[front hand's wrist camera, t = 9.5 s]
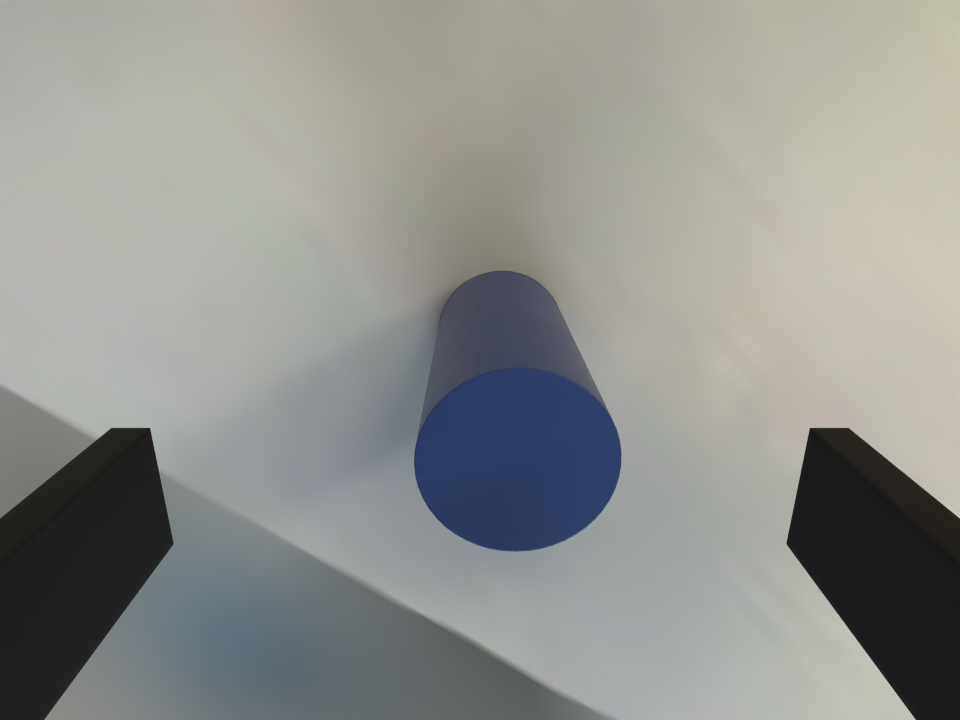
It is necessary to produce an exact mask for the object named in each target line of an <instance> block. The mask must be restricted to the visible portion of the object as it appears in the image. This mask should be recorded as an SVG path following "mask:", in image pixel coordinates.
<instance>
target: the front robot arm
mask: <svg viewBox="0 0 960 720" xmlns="http://www.w3.org/2000/svg"><path fill="white" fill-rule="evenodd" d="M172 545H173V539H172V534H171V529H170V524H169V519H168V514H167V509H166V504H165V499H164V495H163V490H162V485H161V480H160V475H159V470H158V465H157V460H156V455H155V450H154V445H153V441H152V436H151V431H150V428H111V429H110V430H108V431H107V432H106V433H105V434H104V435H102V436H101V437H100V438H99V439H97V440H96V441H95V442H94V443H93V444H91V445H90V446H89V447H88V448H86V449H85V450H84V451H83V452H81V453H80V454H79V455H78V456H77V457H75V458H74V459H73V460H72V461H70V462H69V463H68V464H67V465H65V466H64V467H63V468H62V469H61V470H59V471H58V472H57V473H56V474H55V475H53V476H52V477H51V478H50V479H48V480H47V481H46V482H45V483H43V484H42V485H41V486H40V487H38V488H37V489H36V490H35V491H34V492H32V493H31V494H30V495H29V496H27V497H26V498H25V499H24V500H23V501H21V502H20V503H19V504H18V505H16V506H15V507H14V508H13V509H11V510H10V511H9V512H8V513H7V514H5V515H4V516H3V517H2V518H0V720H44V719H45V718H46V716H47V715H48V714H49V712H50V711H51V710H52V708H53V707H54V706H55V704H56V703H57V701H58V700H59V699H60V697H61V696H62V695H63V693H64V692H65V690H66V689H67V688H68V687H69V685H70V684H71V682H72V681H73V680H74V678H75V677H76V676H77V674H78V673H79V672H80V670H81V669H82V668H83V666H84V665H85V663H86V662H87V661H88V659H89V658H90V657H91V655H92V654H93V653H94V651H95V650H96V649H97V647H98V646H99V644H100V643H101V642H102V640H103V639H104V638H105V636H106V635H107V634H108V632H109V631H110V630H111V628H112V627H113V625H114V624H115V623H116V621H117V620H118V619H119V617H120V616H121V615H122V613H123V612H124V611H125V609H126V608H127V606H128V605H129V604H130V602H131V601H132V600H133V598H134V597H135V596H136V594H137V593H138V591H139V590H140V589H141V587H142V586H143V585H144V583H145V582H146V581H147V579H148V578H149V577H150V575H151V574H152V573H153V571H154V570H155V568H156V567H157V566H158V564H159V563H160V562H161V560H162V559H163V558H164V556H165V555H166V554H167V552H168V551H169V549H170V548H171V547H172ZM787 545H788V547H789V548H790V549H791V551H792V552H793V554H794V555H795V556H796V558H797V559H798V560H799V562H800V563H801V564H802V566H803V567H804V568H805V570H806V571H807V573H808V574H809V575H810V577H811V578H812V579H813V581H814V582H815V583H816V585H817V586H818V587H819V589H820V590H821V592H822V593H823V594H824V596H825V597H826V598H827V600H828V601H829V602H830V604H831V605H832V606H833V608H834V609H835V611H836V612H837V613H838V615H839V616H840V617H841V619H842V620H843V621H844V623H845V624H846V625H847V627H848V628H849V630H850V631H851V632H852V634H853V635H854V636H855V638H856V639H857V640H858V642H859V643H860V644H861V646H862V647H863V649H864V650H865V651H866V653H867V654H868V655H869V657H870V658H871V659H872V661H873V662H874V663H875V665H876V666H877V668H878V669H879V670H880V672H881V673H882V674H883V676H884V677H885V678H886V680H887V681H888V682H889V684H890V685H891V687H892V688H893V689H894V691H895V692H896V693H897V695H898V696H899V697H900V699H901V700H902V701H903V703H904V704H905V706H906V707H907V708H908V710H909V711H910V712H911V714H912V715H913V716H914V718H915V719H916V720H960V518H958V517H957V516H956V515H955V514H953V513H952V512H951V511H950V510H949V509H947V508H946V507H945V506H944V505H942V504H941V503H940V502H939V501H937V500H936V499H935V498H934V497H933V496H931V495H930V494H929V493H928V492H926V491H925V490H924V489H923V488H922V487H920V486H919V485H918V484H917V483H915V482H914V481H913V480H912V479H910V478H909V477H908V476H907V475H906V474H904V473H903V472H902V471H901V470H899V469H898V468H897V467H896V466H895V465H893V464H892V463H891V462H890V461H888V460H887V459H886V458H885V457H883V456H882V455H881V454H880V453H879V452H877V451H876V450H875V449H874V448H872V447H871V446H870V445H869V444H867V443H866V442H865V441H864V440H863V439H861V438H860V437H859V436H858V435H856V434H855V433H854V432H853V431H852V430H850V429H849V428H810V431H809V436H808V441H807V445H806V450H805V455H804V460H803V465H802V470H801V475H800V480H799V485H798V490H797V495H796V499H795V504H794V509H793V514H792V519H791V524H790V529H789V534H788V539H787Z"/></svg>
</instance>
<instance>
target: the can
mask: <svg viewBox="0 0 960 720" xmlns="http://www.w3.org/2000/svg"><path fill="white" fill-rule="evenodd" d="M414 467H415V476H416V480H417V484H418V488H419V490H420V493H421V495H422V497H423V499H424V501H425V503H426V504H427V506H428V508H429V509H430V511H431V512H432V513H433V514H434V516H435V517H436V518H437V519H438V520H439V521H440V522H441V523H442V524H443V525H444V526H445V527H446V528H448V529H449V530H450V531H452V532H453V533H454V534H456V535H458V536H459V537H461V538H463V539H465V540H467V541H469V542H471V543H474V544H476V545H479V546H482V547H486V548H489V549H494V550H500V551H513V552H517V551H530V550H537V549H542V548H545V547H549V546H553V545H555V544H558V543H560V542H563V541H565V540H567V539H569V538H570V537H572V536H574V535H576V534H577V533H579V532H580V531H582V530H583V529H584V528H586V527H587V526H588V525H589V524H590V523H591V522H593V521H594V520H595V519H596V518H597V516H598V515H599V514H600V513H601V512H602V511H603V509H604V508H605V506H606V505H607V503H608V502H609V500H610V498H611V496H612V494H613V492H614V490H615V488H616V485H617V482H618V479H619V474H620V468H621V446H620V440H619V436H618V432H617V429H616V427H615V425H614V422H613V420H612V418H611V416H610V414H609V412H608V410H607V408H606V405H605V403H604V401H603V399H602V397H601V395H600V393H599V391H598V389H597V387H596V385H595V383H594V381H593V378H592V376H591V374H590V372H589V370H588V368H587V366H586V364H585V362H584V360H583V358H582V356H581V354H580V352H579V349H578V347H577V345H576V343H575V341H574V339H573V337H572V335H571V333H570V331H569V329H568V327H567V325H566V323H565V320H564V318H563V316H562V314H561V312H560V310H559V308H558V306H557V304H556V302H555V300H554V299H553V297H552V296H551V294H550V293H549V292H548V291H547V290H546V289H545V288H544V287H543V286H542V285H541V284H539V283H538V282H537V281H535V280H534V279H532V278H530V277H528V276H525V275H522V274H520V273H515V272H510V271H493V272H488V273H484V274H481V275H478V276H476V277H473V278H471V279H470V280H468V281H466V282H465V283H463V284H462V285H461V286H460V287H459V288H457V289H456V291H455V292H454V293H453V294H452V295H451V297H450V298H449V299H448V301H447V303H446V305H445V307H444V309H443V312H442V315H441V319H440V324H439V329H438V334H437V339H436V344H435V349H434V355H433V360H432V365H431V370H430V375H429V380H428V386H427V391H426V396H425V401H424V406H423V411H422V416H421V422H420V427H419V432H418V437H417V442H416V447H415V456H414Z"/></svg>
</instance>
